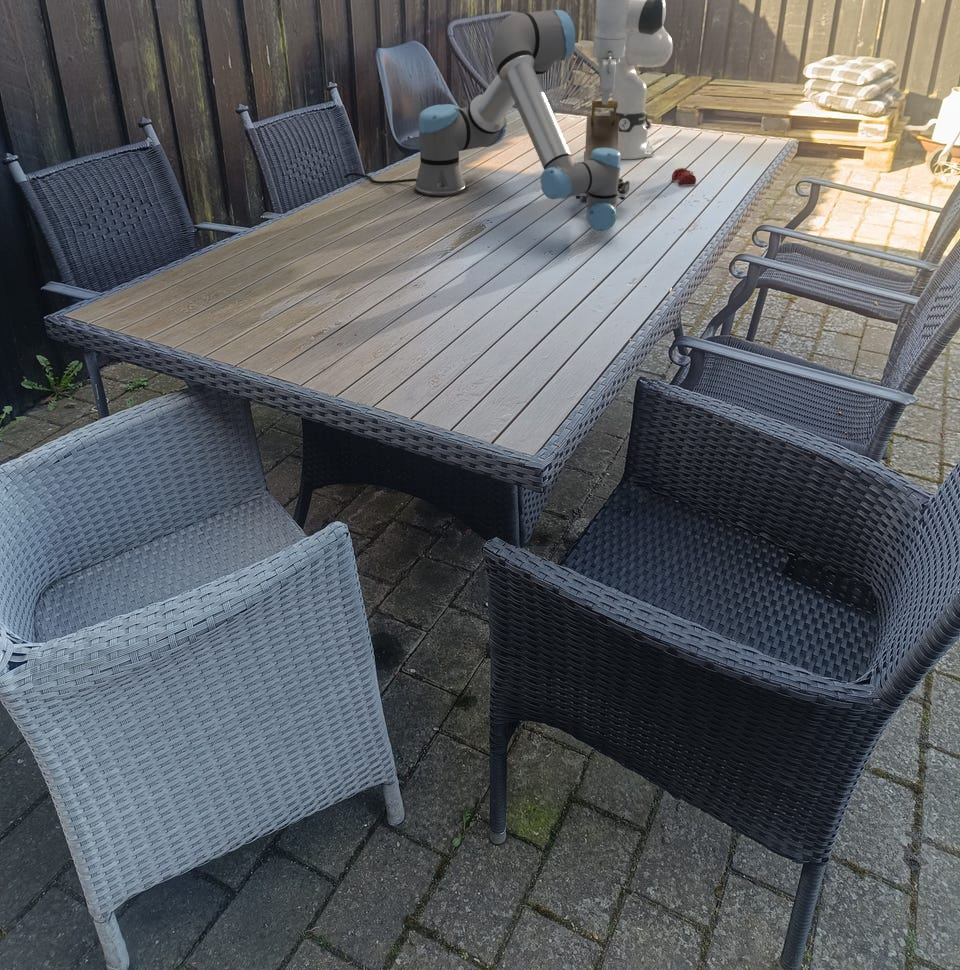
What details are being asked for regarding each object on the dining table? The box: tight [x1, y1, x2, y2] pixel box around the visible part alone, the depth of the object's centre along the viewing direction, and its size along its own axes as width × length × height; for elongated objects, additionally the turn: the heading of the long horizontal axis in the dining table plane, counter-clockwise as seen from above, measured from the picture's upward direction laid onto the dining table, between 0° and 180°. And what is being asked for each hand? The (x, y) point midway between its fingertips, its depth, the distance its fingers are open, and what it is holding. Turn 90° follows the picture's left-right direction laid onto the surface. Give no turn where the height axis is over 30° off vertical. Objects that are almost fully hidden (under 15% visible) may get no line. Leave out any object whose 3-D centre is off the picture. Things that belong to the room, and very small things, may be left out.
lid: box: [584, 100, 619, 161], centre depth 241 cm, size 17×9×9 cm
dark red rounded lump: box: [671, 167, 697, 186], centre depth 263 cm, size 6×4×8 cm
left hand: (599, 177), depth 247 cm, fingers closed on chest, 9 cm apart
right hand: (604, 103), depth 240 cm, fingers closed, pressing on lid
